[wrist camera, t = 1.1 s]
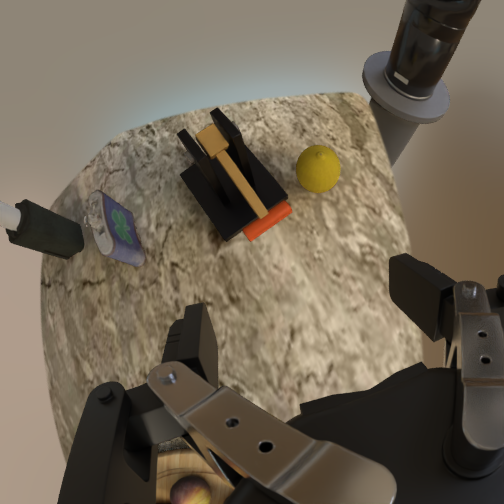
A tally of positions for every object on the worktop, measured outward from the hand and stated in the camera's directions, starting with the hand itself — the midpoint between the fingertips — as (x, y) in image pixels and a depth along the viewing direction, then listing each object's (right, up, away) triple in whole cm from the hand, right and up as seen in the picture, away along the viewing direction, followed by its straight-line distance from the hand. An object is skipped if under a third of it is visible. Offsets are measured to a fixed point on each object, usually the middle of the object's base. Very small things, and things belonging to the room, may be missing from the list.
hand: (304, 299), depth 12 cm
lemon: (+6, +11, +28) cm, 30 cm away
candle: (-32, +4, +31) cm, 44 cm away
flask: (-20, +4, +29) cm, 35 cm away
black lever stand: (-5, +11, +29) cm, 31 cm away
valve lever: (-4, +10, +19) cm, 22 cm away
